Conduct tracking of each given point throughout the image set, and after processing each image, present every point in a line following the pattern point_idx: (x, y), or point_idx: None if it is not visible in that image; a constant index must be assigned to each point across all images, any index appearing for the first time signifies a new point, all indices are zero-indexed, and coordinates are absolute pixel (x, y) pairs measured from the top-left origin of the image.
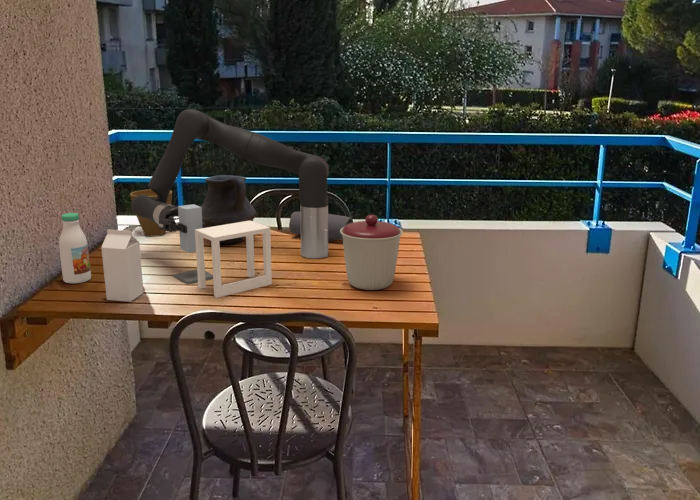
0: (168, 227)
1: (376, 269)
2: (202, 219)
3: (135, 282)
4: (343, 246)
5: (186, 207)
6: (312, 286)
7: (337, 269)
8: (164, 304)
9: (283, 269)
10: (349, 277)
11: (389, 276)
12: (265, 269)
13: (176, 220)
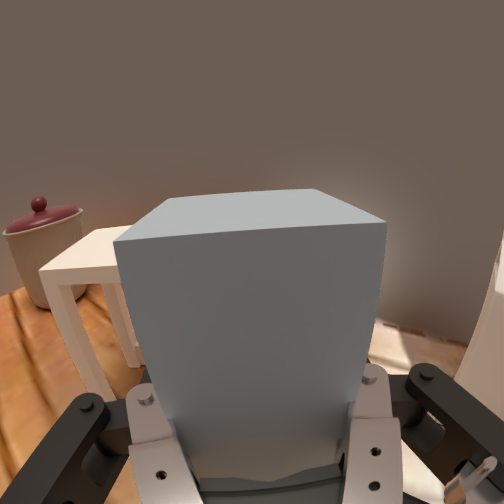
0: (435, 450)
1: None
2: (100, 397)
3: (460, 369)
4: (59, 247)
5: (289, 199)
6: (100, 323)
7: (12, 344)
8: (384, 359)
9: (38, 401)
10: (78, 285)
11: None
12: (131, 333)
13: (380, 416)
